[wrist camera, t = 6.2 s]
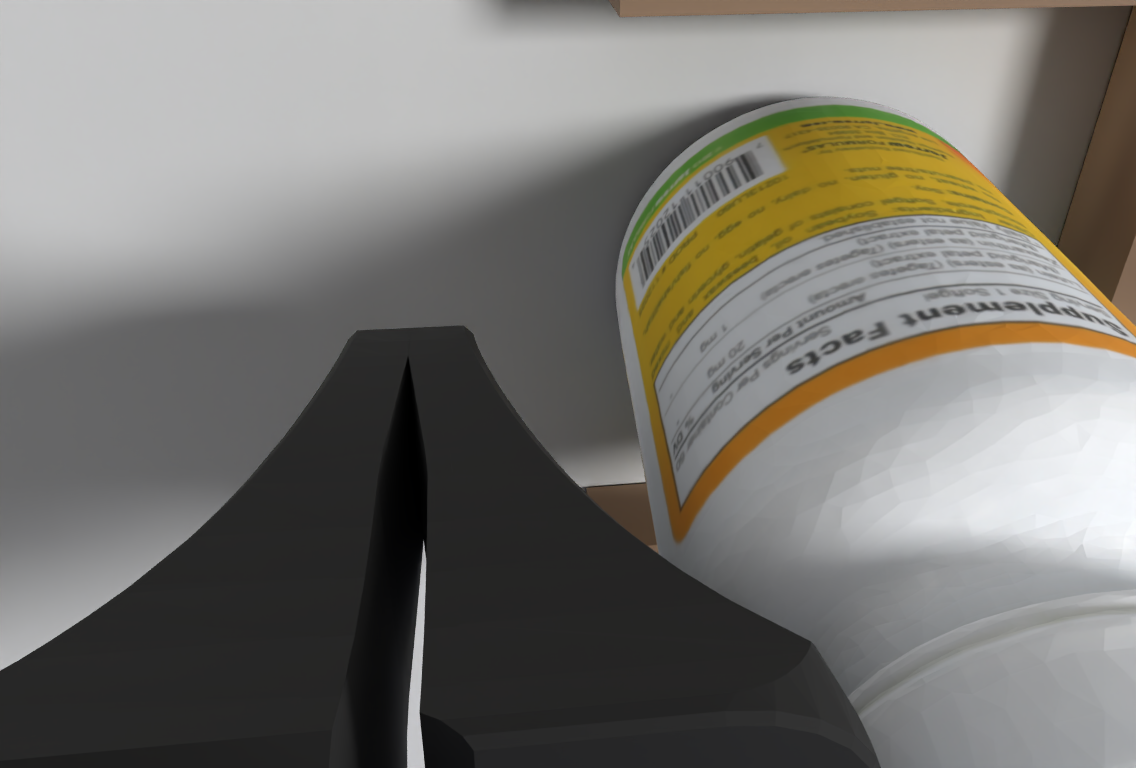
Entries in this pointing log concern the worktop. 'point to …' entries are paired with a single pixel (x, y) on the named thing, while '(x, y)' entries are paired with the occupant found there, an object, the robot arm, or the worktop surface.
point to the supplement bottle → (892, 431)
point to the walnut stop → (1095, 219)
